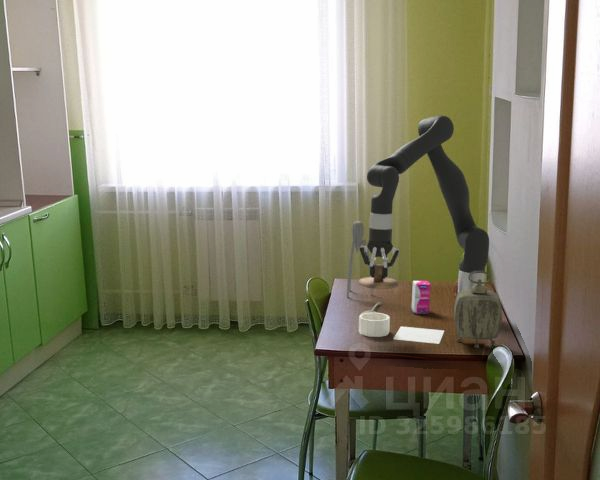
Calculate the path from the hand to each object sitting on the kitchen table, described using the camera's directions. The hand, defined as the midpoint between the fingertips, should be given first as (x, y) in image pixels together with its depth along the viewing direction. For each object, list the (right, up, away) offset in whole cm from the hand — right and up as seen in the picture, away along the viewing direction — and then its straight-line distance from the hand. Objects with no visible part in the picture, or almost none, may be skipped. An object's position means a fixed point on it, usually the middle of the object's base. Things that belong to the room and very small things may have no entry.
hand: (378, 277), depth 256 cm
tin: (+38, -11, +51) cm, 65 cm away
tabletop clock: (+30, -22, -8) cm, 39 cm away
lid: (0, -2, 0) cm, 2 cm away
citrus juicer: (-2, -10, +56) cm, 57 cm away
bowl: (-1, -19, +4) cm, 20 cm away
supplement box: (+19, -15, +31) cm, 39 cm away
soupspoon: (+1, -15, +31) cm, 34 cm away
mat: (+14, -20, +2) cm, 24 cm away
